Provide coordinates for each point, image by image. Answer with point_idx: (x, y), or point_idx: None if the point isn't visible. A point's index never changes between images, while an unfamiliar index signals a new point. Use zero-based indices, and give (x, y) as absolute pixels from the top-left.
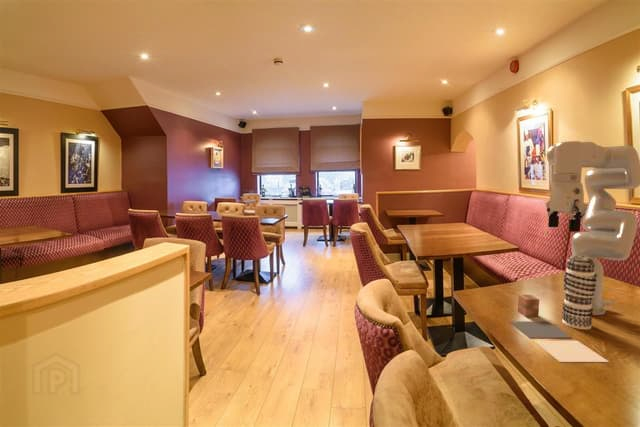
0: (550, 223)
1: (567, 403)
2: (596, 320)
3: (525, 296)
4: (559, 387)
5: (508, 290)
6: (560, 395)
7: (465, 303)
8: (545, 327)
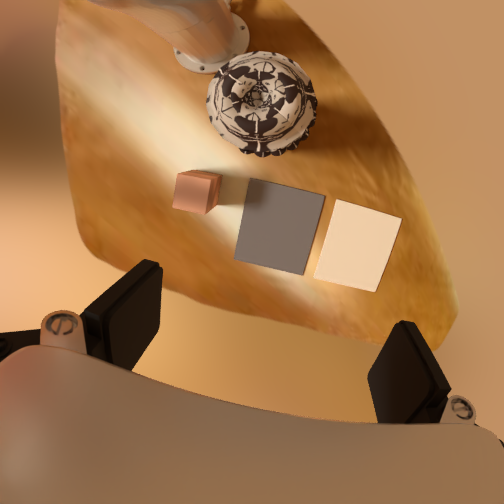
0: (147, 344)
1: None
2: None
3: (186, 199)
4: None
5: (86, 132)
6: None
7: None
8: (275, 209)
